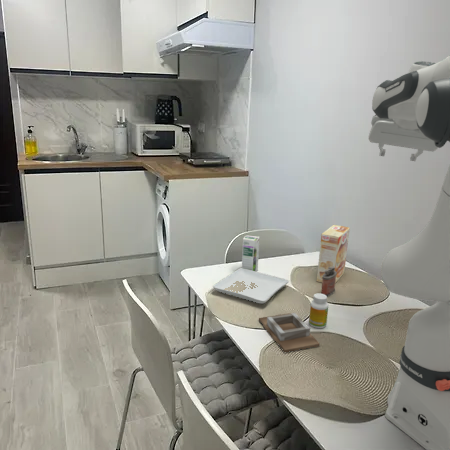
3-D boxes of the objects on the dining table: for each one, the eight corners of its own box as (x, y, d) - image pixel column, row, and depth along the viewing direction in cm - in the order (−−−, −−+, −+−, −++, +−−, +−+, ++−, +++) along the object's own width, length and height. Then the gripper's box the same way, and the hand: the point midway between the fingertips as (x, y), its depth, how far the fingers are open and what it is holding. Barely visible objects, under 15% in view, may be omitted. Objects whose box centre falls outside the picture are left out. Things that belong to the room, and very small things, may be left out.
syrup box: (241, 273, 167) (242, 238, 163) (244, 267, 172) (246, 234, 168) (254, 275, 165) (256, 240, 161) (258, 269, 171) (259, 236, 166)
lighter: (328, 288, 156) (331, 263, 153) (336, 290, 154) (339, 265, 151) (318, 295, 150) (320, 269, 147) (326, 298, 148) (329, 272, 145)
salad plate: (239, 274, 166) (239, 266, 165) (289, 287, 156) (289, 279, 155) (210, 294, 149) (211, 285, 148) (264, 310, 139) (265, 301, 138)
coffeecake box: (333, 286, 157) (339, 237, 152) (315, 281, 161) (320, 233, 155) (345, 272, 170) (350, 227, 164) (328, 268, 173) (332, 224, 167)
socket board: (319, 346, 119) (320, 335, 118) (284, 353, 115) (285, 342, 114) (289, 315, 135) (290, 306, 134) (258, 320, 132) (259, 310, 131)
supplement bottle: (326, 329, 128) (329, 301, 125) (308, 327, 129) (311, 299, 126) (326, 320, 133) (329, 293, 130) (308, 318, 134) (311, 291, 131)
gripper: (373, 116, 124) (363, 157, 133) (447, 126, 119) (431, 168, 128) (374, 108, 128) (363, 147, 137) (445, 117, 124) (429, 158, 133)
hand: (397, 157), depth 133 cm, fingers open, 8 cm apart
